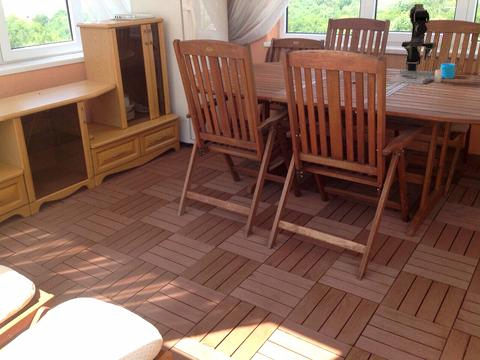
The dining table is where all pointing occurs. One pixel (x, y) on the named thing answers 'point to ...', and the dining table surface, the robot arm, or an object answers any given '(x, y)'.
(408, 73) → the jig
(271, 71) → the dining table surface
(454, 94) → the dining table surface
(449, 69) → the mug
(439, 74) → the cream domed knob
